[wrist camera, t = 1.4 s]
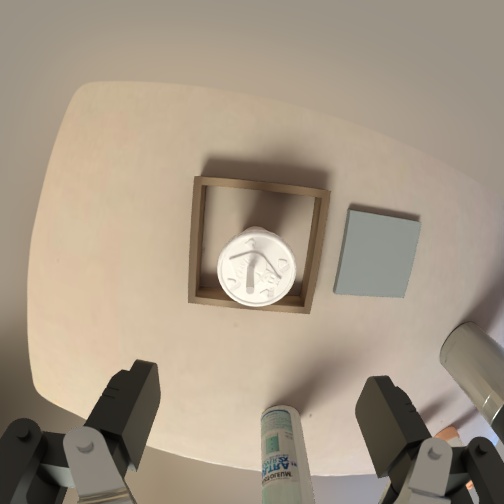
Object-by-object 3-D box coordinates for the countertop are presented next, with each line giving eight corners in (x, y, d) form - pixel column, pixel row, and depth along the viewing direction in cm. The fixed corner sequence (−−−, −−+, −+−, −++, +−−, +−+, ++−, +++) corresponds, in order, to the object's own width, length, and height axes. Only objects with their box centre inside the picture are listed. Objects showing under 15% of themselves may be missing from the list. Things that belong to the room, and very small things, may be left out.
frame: (323, 189, 30) (330, 191, 27) (305, 302, 34) (309, 313, 31) (199, 176, 30) (194, 176, 27) (193, 291, 33) (188, 302, 30)
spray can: (276, 432, 41) (283, 532, 21) (251, 416, 39) (251, 525, 20) (307, 416, 39) (327, 520, 20) (284, 398, 38) (298, 514, 19)
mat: (417, 221, 31) (421, 222, 30) (400, 294, 33) (403, 297, 32) (347, 209, 31) (350, 210, 30) (332, 290, 33) (335, 294, 32)
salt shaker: (442, 427, 43) (473, 483, 25) (458, 424, 44) (490, 474, 25) (424, 446, 45) (451, 501, 27) (442, 443, 46) (469, 492, 27)
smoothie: (242, 204, 30) (233, 228, 17) (294, 229, 31) (324, 272, 18) (217, 255, 32) (194, 313, 19) (268, 278, 33) (278, 348, 19)
